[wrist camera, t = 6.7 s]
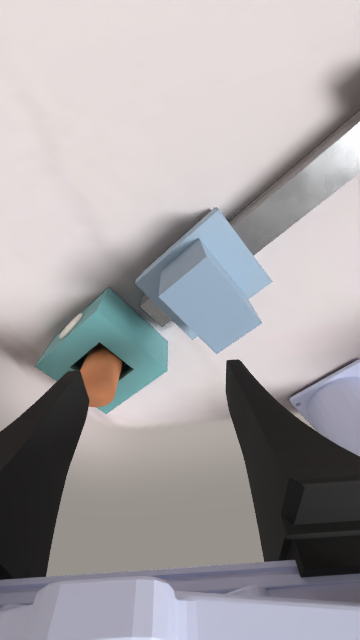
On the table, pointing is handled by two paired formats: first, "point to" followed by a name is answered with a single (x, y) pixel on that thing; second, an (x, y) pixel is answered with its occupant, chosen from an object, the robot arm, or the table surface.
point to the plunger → (101, 375)
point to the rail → (293, 194)
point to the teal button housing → (109, 346)
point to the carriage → (207, 283)
